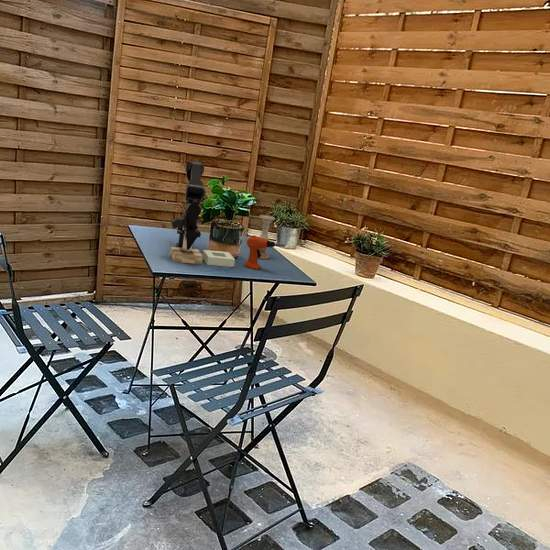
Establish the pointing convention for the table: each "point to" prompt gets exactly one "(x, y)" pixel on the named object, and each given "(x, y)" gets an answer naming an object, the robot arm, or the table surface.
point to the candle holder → (265, 234)
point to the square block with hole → (218, 258)
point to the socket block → (186, 256)
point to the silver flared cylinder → (185, 247)
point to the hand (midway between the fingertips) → (187, 248)
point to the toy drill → (254, 245)
